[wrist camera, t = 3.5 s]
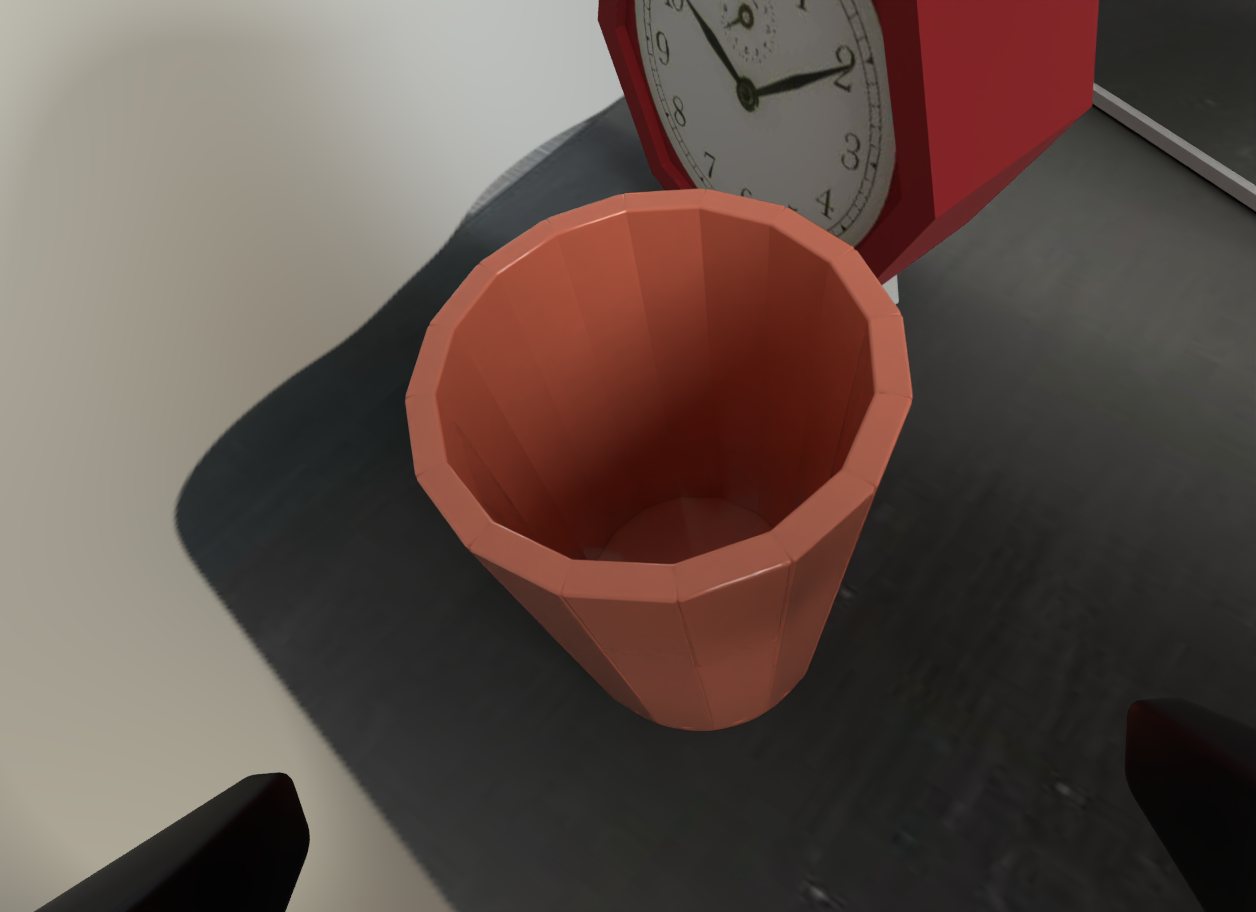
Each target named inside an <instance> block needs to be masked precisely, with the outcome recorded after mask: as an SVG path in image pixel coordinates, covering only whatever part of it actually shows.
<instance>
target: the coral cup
mask: <svg viewBox="0 0 1256 912" xmlns="http://www.w3.org/2000/svg"><path fill="white" fill-rule="evenodd" d="M912 398H913V391H912V384H911V376H910V368H909V360H908V352H907V344H906V336H905V329H904V321H903V317H902V315H901V313H900V310H899V309H898V308H897V306H896V305H895V303H894V302H893V300H892V299H891V298H890V296H889V295H888V293H887V292H886V291H885V289H884V288H883V286H882V285H881V284H880V282H879V281H878V279H877V278H876V276H875V275H874V274H873V272H872V271H871V269H870V268H869V267H868V265H867V264H866V262H865V261H864V260H863V258H862V257H861V255H860V254H859V253H858V251H857V250H854V248H853V246H851V245H850V244H848V243H846V242H845V241H843V240H841V239H840V238H838V237H836V236H835V235H833V234H831V233H830V232H828V231H827V230H825V229H823V228H822V227H820V226H818V225H817V224H815V223H813V222H812V221H810V220H808V219H807V218H805V217H804V216H802V215H800V214H799V213H797V212H795V211H794V210H792V209H790V208H788V207H786V208H785V206H783V205H779V204H775V203H770V202H766V201H762V200H757V199H753V198H748V197H744V196H739V195H735V194H730V193H726V192H721V191H717V190H712V189H706V190H705V189H703V188H700V189H683V190H666V191H649V192H632V193H625V194H624V195H623V194H619V195H616V196H613V197H610V198H607V199H604V200H601V201H598V202H595V203H592V204H589V205H585V206H582V207H579V208H576V209H573V210H570V211H567V212H564V213H561V214H558V215H555V216H552V217H549V218H547V221H546V220H543V221H541V222H540V223H538V224H537V225H535V226H534V227H532V228H531V229H529V230H528V231H526V232H525V233H523V234H522V235H520V236H519V237H517V238H516V239H514V240H513V241H511V242H509V243H508V244H506V245H505V246H503V247H502V248H500V249H499V250H497V251H496V252H494V253H493V254H491V255H490V256H488V257H487V258H485V259H484V260H482V261H481V262H480V265H477V266H476V267H475V268H474V269H473V270H472V272H471V273H470V274H469V275H468V276H467V278H466V279H465V280H464V281H463V283H462V284H461V285H460V286H459V288H458V289H457V290H456V291H455V293H454V294H453V295H452V296H451V297H450V299H449V300H448V301H447V302H446V304H445V305H444V306H443V307H442V309H441V310H440V311H439V312H438V313H437V315H436V316H435V317H434V318H433V320H432V321H431V322H430V326H428V328H427V331H426V334H425V337H424V340H423V343H422V346H421V349H420V352H419V356H418V359H417V362H416V365H415V368H414V371H413V374H412V377H411V380H410V383H409V386H408V390H407V393H406V400H405V405H406V412H407V419H408V426H409V434H410V441H411V448H412V456H413V463H414V470H415V476H416V477H417V481H418V483H419V484H420V486H421V487H422V488H423V490H424V491H425V492H426V494H427V495H428V496H429V498H430V499H431V501H432V502H433V503H434V505H435V506H436V507H437V509H438V510H439V512H440V513H441V514H442V516H443V517H444V518H445V520H446V521H447V523H448V524H449V525H450V527H451V528H452V529H453V531H454V532H455V533H456V535H457V536H458V538H459V539H460V540H461V542H462V543H463V544H464V546H465V547H466V548H467V549H468V550H469V551H470V552H471V553H472V554H473V555H474V556H475V557H476V558H477V559H478V560H479V561H480V563H481V564H482V565H483V566H484V567H485V568H486V569H487V570H488V571H489V572H490V573H491V574H492V575H493V576H494V577H495V578H496V579H497V580H498V581H499V582H500V583H501V584H502V585H503V586H504V587H505V588H506V589H507V590H508V591H509V592H510V593H511V594H512V595H513V596H514V597H515V598H516V599H517V600H518V601H519V602H520V604H521V605H522V606H523V607H524V608H525V609H526V610H527V611H528V612H529V613H530V614H531V615H532V616H533V617H534V618H535V619H536V620H537V621H538V622H539V623H540V624H541V625H542V626H543V627H544V628H545V629H546V630H547V631H548V632H549V633H550V634H551V635H552V636H553V637H554V638H555V639H556V640H557V641H558V642H559V644H560V645H561V646H562V647H563V648H564V649H565V650H566V651H567V652H568V653H569V654H570V655H571V656H572V657H573V658H574V659H575V660H576V661H577V662H578V663H579V664H580V665H581V666H582V667H583V668H584V669H585V670H586V671H587V672H588V673H589V674H590V675H591V676H592V677H593V678H594V679H595V680H596V681H597V682H598V683H599V685H600V686H601V687H602V688H603V689H604V690H605V691H606V692H607V693H608V694H609V695H610V696H611V697H612V698H614V699H615V700H616V701H618V702H620V703H621V704H623V705H625V706H626V707H628V708H629V709H631V710H632V711H634V712H635V713H637V714H638V715H640V716H642V717H644V718H646V719H649V720H651V721H653V722H655V723H657V724H661V725H665V726H668V727H671V728H677V729H683V730H694V731H708V730H717V729H724V728H728V727H732V726H736V725H739V724H742V723H745V722H747V721H749V720H752V719H754V718H756V717H758V716H760V715H761V714H763V713H765V712H766V711H768V710H770V709H771V708H773V707H774V706H775V705H776V704H777V703H779V702H780V701H781V700H782V699H784V698H785V697H786V696H787V695H788V693H789V692H790V691H791V690H792V689H793V688H794V687H795V686H796V685H797V683H798V682H799V681H800V680H801V679H802V678H803V677H804V675H805V674H806V673H807V670H808V668H809V665H810V663H811V660H812V658H813V655H814V653H815V650H816V648H817V645H818V643H819V640H820V638H821V635H822V633H823V630H824V628H825V625H826V623H827V620H828V617H829V615H830V612H831V610H832V607H833V605H834V602H835V600H836V597H837V594H838V592H839V589H840V587H841V584H842V582H843V579H844V577H845V574H846V571H847V569H848V566H849V564H850V561H851V559H852V556H853V553H854V551H855V548H856V546H857V543H858V541H859V538H860V536H861V533H862V530H863V528H864V525H865V523H866V520H867V518H868V515H869V512H870V510H871V507H872V505H873V502H874V500H875V497H876V495H877V492H878V489H879V487H880V484H881V482H882V479H883V477H884V474H885V472H886V469H887V466H888V464H889V461H890V459H891V456H892V454H893V451H894V448H895V446H896V443H897V441H898V438H899V436H900V433H901V431H902V428H903V425H904V423H905V420H906V418H907V415H908V413H909V410H910V407H911V405H912Z"/></svg>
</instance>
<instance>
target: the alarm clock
mask: <svg viewBox="0 0 1256 912" xmlns="http://www.w3.org/2000/svg"><path fill="white" fill-rule="evenodd" d="M1098 8H1099V0H599V8H598V22H599V24H600V27H601V30H602V33H603V36H604V39H605V41H606V44H607V47H608V50H609V53H610V56H611V58H612V61H613V64H614V67H615V70H616V73H617V75H618V78H619V81H620V84H621V87H622V90H623V92H624V95H625V98H626V101H627V104H628V107H629V109H630V112H631V115H632V118H633V121H634V124H635V126H636V129H637V132H638V135H639V138H640V140H641V143H642V146H643V149H644V152H645V155H646V157H647V160H648V163H649V166H650V169H651V172H652V174H653V175H654V176H655V178H656V179H657V180H658V181H659V183H660V184H661V185H662V186H663V187H664V189H665V190H683V189H700V188H703V189H705V190H706V189H712V190H717V191H721V192H726V193H730V194H735V195H739V196H744V197H748V198H753V199H757V200H762V201H766V202H770V203H775V204H779V205H783V206H785V208H786V207H788V208H790V209H792V210H794V211H795V212H797V213H799V214H800V215H802V216H804V217H805V218H807V219H808V220H810V221H812V222H813V223H815V224H817V225H818V226H820V227H822V228H823V229H825V230H827V231H828V232H830V233H831V234H833V235H835V236H836V237H838V238H840V239H841V240H843V241H845V242H846V243H848V244H850V245H851V246H853V248H854V250H857V251H858V253H859V254H860V255H861V257H862V258H863V260H864V261H865V262H866V264H867V265H868V267H869V268H870V269H871V271H872V272H873V274H874V275H875V276H876V278H877V279H878V281H879V282H880V284H881V285H882V286H883V288H884V289H885V291H886V292H887V293H888V295H889V296H890V298H891V299H892V300H893V302H894V303H895V304H897V303H898V302H899V299H898V285H897V274H898V273H900V272H901V271H902V270H904V269H905V268H906V267H908V266H909V265H911V264H912V263H913V262H915V261H916V260H917V259H919V258H920V257H921V256H923V255H924V254H926V253H927V252H928V251H930V250H931V249H932V248H934V247H935V246H936V245H938V244H939V243H941V242H942V241H943V240H945V239H946V238H947V237H949V236H950V235H952V234H953V233H954V232H956V231H957V230H958V229H960V228H961V227H962V226H964V225H965V224H967V223H968V222H969V221H970V220H971V219H972V218H973V217H974V216H975V215H976V214H977V213H978V212H979V211H980V210H982V209H983V208H984V207H985V206H986V205H987V204H988V203H989V202H990V201H991V200H992V199H993V198H994V197H995V196H997V195H998V194H999V193H1000V192H1001V191H1002V190H1003V189H1004V188H1005V187H1006V186H1007V185H1008V184H1009V183H1010V182H1011V181H1013V180H1014V179H1015V178H1016V177H1017V176H1018V175H1019V174H1020V173H1021V172H1022V171H1023V170H1024V169H1025V168H1026V167H1028V166H1029V165H1030V164H1031V163H1032V162H1033V161H1034V160H1035V159H1036V158H1037V157H1038V156H1039V155H1040V154H1041V153H1042V152H1044V151H1045V150H1046V149H1047V148H1048V147H1049V146H1050V145H1051V144H1052V143H1053V142H1054V141H1055V140H1056V139H1057V138H1059V137H1060V136H1061V135H1062V134H1063V133H1064V132H1065V131H1066V130H1067V129H1068V128H1069V127H1070V126H1071V125H1072V124H1074V123H1075V122H1076V121H1077V120H1078V119H1079V118H1080V117H1081V116H1082V115H1083V114H1084V113H1085V112H1086V111H1087V110H1088V109H1090V108H1091V107H1092V101H1093V85H1094V70H1095V54H1096V39H1097V23H1098Z"/></svg>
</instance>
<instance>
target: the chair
mask: <svg viewBox="0 0 1256 912" xmlns="http://www.w3.org/2000/svg"><path fill="white" fill-rule="evenodd" d="M1092 103H1093V104H1094V105H1096V106H1097V107H1099V108H1100V109H1102V110H1103V111H1105V112H1106V113H1108V114H1109V115H1111V116H1112V117H1114V118H1115V119H1117V120H1118V121H1120V122H1121V123H1123V124H1124V125H1126V126H1127V127H1129V128H1131V129H1132V130H1134V131H1135V132H1137V133H1138V134H1140V135H1141V136H1143V137H1144V138H1146V139H1147V140H1149V141H1150V142H1152V143H1153V144H1155V145H1156V146H1158V147H1159V148H1161V149H1162V150H1164V151H1165V152H1167V153H1168V154H1170V155H1171V156H1173V157H1174V158H1176V159H1177V160H1179V161H1180V162H1182V163H1183V164H1185V165H1186V166H1188V167H1189V168H1191V169H1192V170H1194V171H1195V172H1197V173H1198V174H1200V175H1201V176H1203V177H1205V178H1206V179H1208V180H1209V181H1211V182H1212V183H1214V184H1215V185H1217V186H1218V187H1220V188H1221V189H1223V190H1224V191H1226V192H1227V193H1229V194H1230V195H1232V196H1233V197H1235V198H1236V199H1238V200H1239V201H1241V202H1242V203H1244V204H1245V205H1247V206H1248V207H1250V208H1251V209H1253V210H1254V211H1256V186H1255V185H1254V184H1252V183H1250V182H1249V181H1247V180H1246V179H1244V178H1243V177H1241V176H1240V175H1238V174H1236V173H1235V172H1233V171H1232V170H1230V169H1229V168H1227V167H1225V166H1224V165H1222V164H1221V163H1219V162H1218V161H1216V160H1214V159H1213V158H1211V157H1210V156H1208V155H1207V154H1205V153H1204V152H1202V151H1200V150H1199V149H1197V148H1196V147H1194V146H1193V145H1191V144H1189V143H1188V142H1186V141H1185V140H1183V139H1182V138H1180V137H1179V136H1177V135H1175V134H1174V133H1172V132H1171V131H1169V130H1168V129H1166V128H1164V127H1163V126H1161V125H1160V124H1158V123H1157V122H1155V121H1154V120H1152V119H1150V118H1149V117H1147V116H1146V115H1144V114H1143V113H1141V112H1139V111H1138V110H1136V109H1135V108H1133V107H1132V106H1130V105H1128V104H1127V103H1125V102H1124V101H1122V100H1121V99H1119V98H1118V97H1116V96H1114V95H1113V94H1111V93H1110V92H1108V91H1107V90H1105V89H1103V88H1102V87H1100V86H1099V85H1097V84H1096V83H1094V85H1093V101H1092Z"/></svg>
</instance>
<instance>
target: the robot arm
mask: <svg viewBox="0 0 1256 912" xmlns="http://www.w3.org/2000/svg"><path fill="white" fill-rule="evenodd" d="M1125 774H1126V779H1127V782H1128V785H1129V788H1130V790H1131V792H1132V794H1133V796H1134V798H1135V800H1136V801H1137V803H1138V805H1139V806H1140V808H1141V809H1142V811H1143V813H1144V814H1145V816H1146V817H1147V819H1148V821H1149V822H1150V824H1151V825H1152V827H1153V829H1154V830H1155V832H1156V834H1157V835H1158V837H1159V838H1160V840H1161V842H1162V843H1163V845H1164V846H1165V848H1166V850H1167V851H1168V853H1169V855H1170V856H1171V858H1172V859H1173V861H1174V863H1175V864H1176V866H1177V867H1178V869H1179V871H1180V872H1181V874H1182V875H1183V877H1184V879H1185V880H1186V882H1187V884H1188V885H1189V887H1190V888H1191V890H1192V892H1193V893H1194V895H1195V896H1196V898H1197V900H1198V901H1199V903H1200V904H1201V906H1202V908H1203V909H1204V911H1205V912H1256V728H1254V727H1251V726H1249V725H1247V724H1244V723H1242V722H1239V721H1237V720H1234V719H1232V718H1229V717H1227V716H1224V715H1222V714H1219V713H1217V712H1214V711H1212V710H1209V709H1207V708H1204V707H1202V706H1199V705H1197V704H1194V703H1192V702H1189V701H1187V700H1184V699H1181V698H1160V699H1148V700H1139V701H1136V702H1134V703H1133V704H1132V705H1131V706H1130V708H1129V710H1128V715H1127V733H1126V752H1125ZM309 841H310V835H309V828H308V824H307V821H306V818H305V815H304V813H303V810H302V806H301V804H300V800H299V798H298V794H297V792H296V789H295V786H294V783H293V781H292V779H291V778H290V777H289V776H288V775H287V774H284V773H268V774H257V775H251V776H248V777H246V778H244V779H243V780H241V781H239V782H238V783H236V784H235V785H233V786H232V787H230V788H228V789H227V790H226V791H224V792H222V793H221V794H219V795H217V796H216V797H214V798H213V799H211V800H210V801H208V802H206V803H205V804H203V805H202V806H200V807H198V808H197V809H195V810H194V811H192V812H191V813H189V814H187V815H186V816H184V817H183V818H181V819H180V820H178V821H176V822H175V823H173V824H172V825H170V826H169V827H167V828H165V829H164V830H162V831H161V832H159V833H157V834H156V835H154V836H153V837H151V838H150V839H148V840H146V841H145V842H143V843H142V844H140V845H139V846H137V847H136V848H134V849H132V850H131V851H129V852H128V853H126V854H125V855H123V856H121V857H120V858H118V859H116V860H115V861H113V862H112V863H110V864H109V865H107V866H105V867H104V868H102V869H101V870H99V871H98V872H96V873H94V874H93V875H91V876H90V877H88V878H86V879H85V880H83V881H82V882H80V883H79V884H77V885H76V886H74V887H72V888H71V889H69V890H68V891H66V892H64V893H63V894H61V895H60V896H58V897H56V898H55V899H53V900H52V901H50V902H49V903H47V904H46V905H44V906H42V907H41V908H39V909H38V910H36V911H34V912H285V911H286V909H287V906H288V903H289V901H290V898H291V895H292V893H293V890H294V887H295V885H296V882H297V880H298V877H299V874H300V872H301V869H302V867H303V864H304V861H305V859H306V856H307V853H308V848H309Z"/></svg>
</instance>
